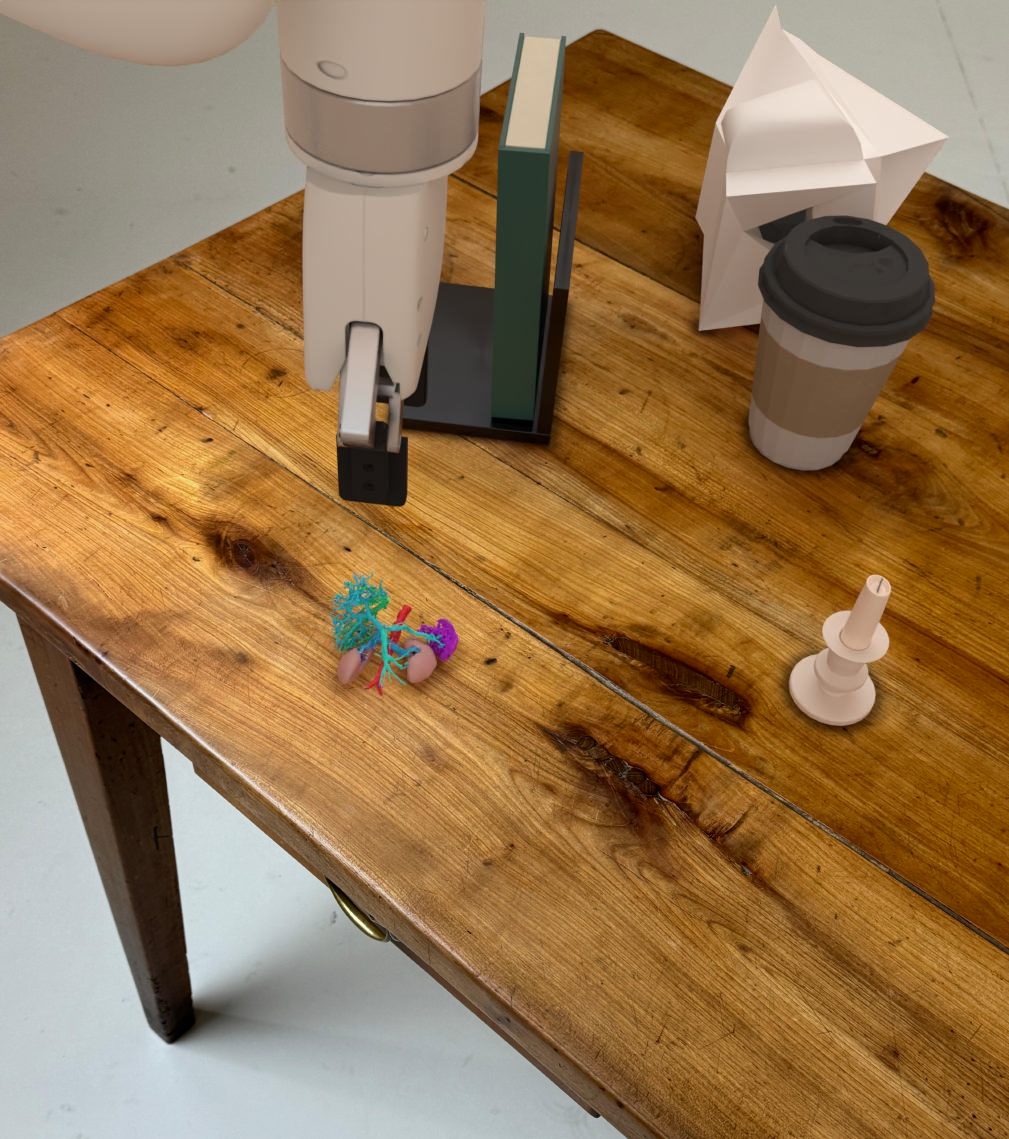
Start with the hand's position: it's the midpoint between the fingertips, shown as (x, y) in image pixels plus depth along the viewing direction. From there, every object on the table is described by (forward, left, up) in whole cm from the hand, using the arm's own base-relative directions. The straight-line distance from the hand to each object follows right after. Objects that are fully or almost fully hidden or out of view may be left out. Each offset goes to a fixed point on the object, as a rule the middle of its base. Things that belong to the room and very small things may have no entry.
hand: (384, 446), depth 63 cm
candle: (+27, +2, -18) cm, 32 cm away
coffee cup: (+26, +25, -18) cm, 40 cm away
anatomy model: (0, 0, -18) cm, 18 cm away
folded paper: (+25, +47, -18) cm, 56 cm away
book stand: (+3, +29, -18) cm, 34 cm away
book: (+4, +29, -6) cm, 30 cm away
